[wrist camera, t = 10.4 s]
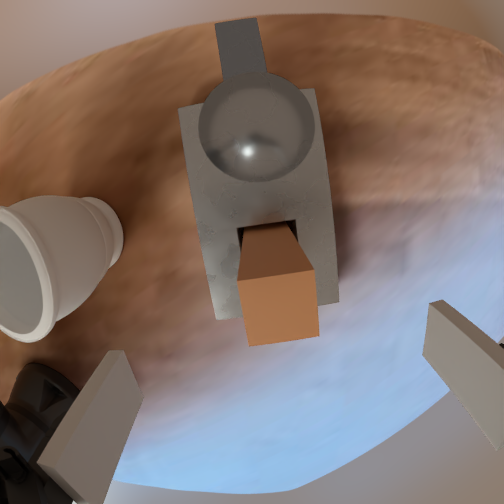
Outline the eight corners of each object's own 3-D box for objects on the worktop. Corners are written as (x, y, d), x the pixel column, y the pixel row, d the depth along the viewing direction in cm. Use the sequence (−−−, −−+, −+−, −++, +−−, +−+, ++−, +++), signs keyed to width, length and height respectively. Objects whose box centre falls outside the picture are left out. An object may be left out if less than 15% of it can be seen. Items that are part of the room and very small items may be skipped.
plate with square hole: (220, 304, 32) (191, 433, 15) (183, 92, 26) (101, 11, 9) (330, 288, 32) (397, 403, 14) (303, 74, 26) (360, -26, 8)
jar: (45, 236, 30) (-43, 276, 16) (85, 167, 28) (-14, 176, 14) (103, 295, 32) (31, 366, 18) (151, 231, 30) (75, 283, 16)
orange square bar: (250, 264, 31) (249, 346, 16) (244, 226, 30) (236, 281, 15) (289, 259, 31) (319, 335, 16) (284, 220, 30) (314, 269, 15)
